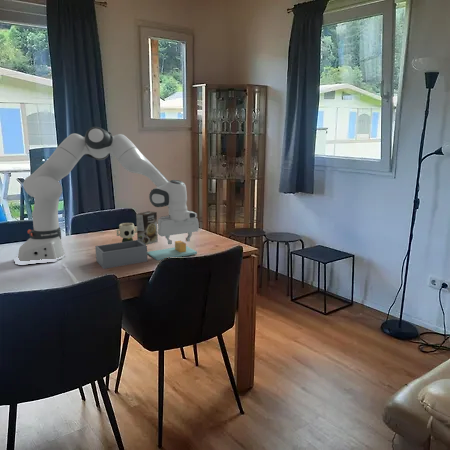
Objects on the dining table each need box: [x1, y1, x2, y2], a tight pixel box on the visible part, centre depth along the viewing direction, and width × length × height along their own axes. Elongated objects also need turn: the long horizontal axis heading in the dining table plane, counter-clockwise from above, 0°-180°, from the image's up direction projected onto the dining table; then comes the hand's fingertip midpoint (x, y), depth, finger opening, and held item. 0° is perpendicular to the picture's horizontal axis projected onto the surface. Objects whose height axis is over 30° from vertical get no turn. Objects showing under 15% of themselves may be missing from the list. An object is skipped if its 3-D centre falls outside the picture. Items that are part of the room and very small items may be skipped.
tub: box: [94, 239, 149, 270], centre depth 200 cm, size 20×12×8 cm, turn 120°
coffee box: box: [135, 210, 159, 246], centre depth 232 cm, size 9×6×16 cm
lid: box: [147, 240, 198, 261], centre depth 212 cm, size 20×12×6 cm, turn 120°
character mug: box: [116, 222, 137, 242], centre depth 220 cm, size 11×7×13 cm, turn 127°
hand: (178, 242), depth 213 cm, fingers open, 8 cm apart
